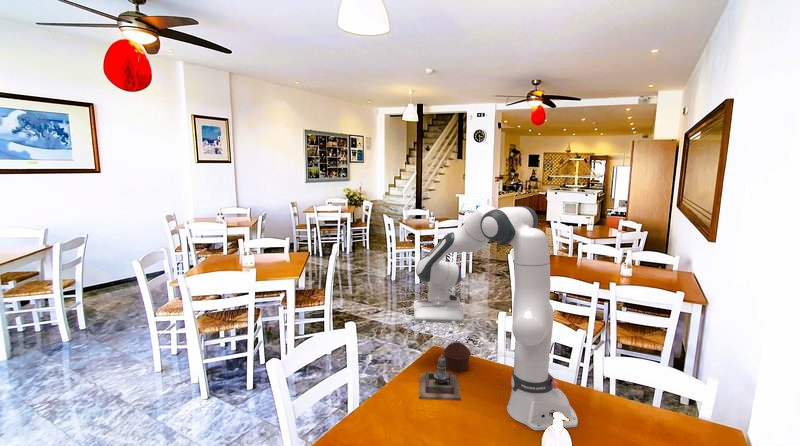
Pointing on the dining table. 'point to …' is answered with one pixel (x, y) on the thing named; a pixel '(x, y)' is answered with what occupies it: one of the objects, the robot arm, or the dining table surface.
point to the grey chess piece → (441, 372)
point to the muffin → (457, 357)
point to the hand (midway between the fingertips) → (438, 332)
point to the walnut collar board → (438, 388)
